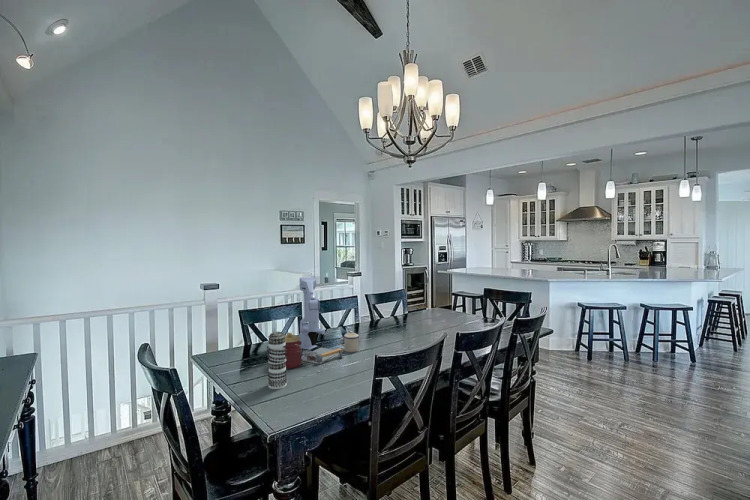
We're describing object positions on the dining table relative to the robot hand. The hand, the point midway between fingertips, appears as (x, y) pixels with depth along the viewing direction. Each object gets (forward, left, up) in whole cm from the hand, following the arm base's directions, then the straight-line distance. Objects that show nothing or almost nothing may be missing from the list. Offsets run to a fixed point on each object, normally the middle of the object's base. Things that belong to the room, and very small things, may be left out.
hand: (313, 345), depth 214 cm
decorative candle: (+8, -36, -9) cm, 38 cm away
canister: (-6, -12, -9) cm, 17 cm away
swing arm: (+9, +5, -7) cm, 12 cm away
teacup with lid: (+8, +24, -9) cm, 27 cm away
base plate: (+2, +7, -8) cm, 11 cm away
